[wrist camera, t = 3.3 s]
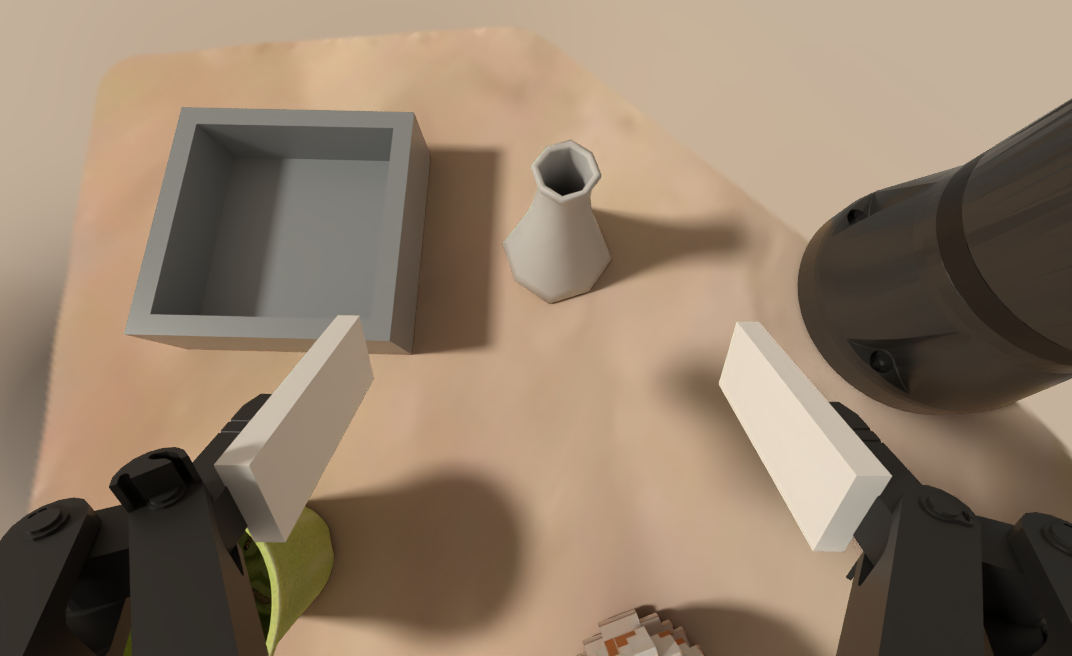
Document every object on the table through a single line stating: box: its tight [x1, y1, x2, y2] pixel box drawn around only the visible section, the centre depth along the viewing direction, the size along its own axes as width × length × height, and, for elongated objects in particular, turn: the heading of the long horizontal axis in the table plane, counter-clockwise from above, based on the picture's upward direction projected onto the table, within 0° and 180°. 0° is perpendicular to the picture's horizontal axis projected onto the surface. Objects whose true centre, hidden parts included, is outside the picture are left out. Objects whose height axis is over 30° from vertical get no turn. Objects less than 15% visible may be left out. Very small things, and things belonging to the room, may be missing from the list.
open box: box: [124, 107, 431, 355], centre depth 28 cm, size 15×15×4 cm
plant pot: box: [123, 507, 334, 656], centre depth 22 cm, size 9×9×9 cm
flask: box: [503, 140, 612, 304], centre depth 26 cm, size 7×7×10 cm
